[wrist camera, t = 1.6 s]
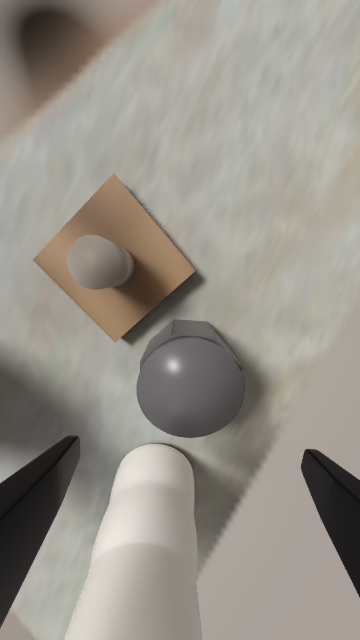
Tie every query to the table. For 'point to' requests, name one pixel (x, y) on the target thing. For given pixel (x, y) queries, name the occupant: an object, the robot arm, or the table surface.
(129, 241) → the stud block
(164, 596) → the water bottle
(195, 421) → the cap
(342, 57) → the table surface
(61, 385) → the table surface
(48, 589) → the table surface
